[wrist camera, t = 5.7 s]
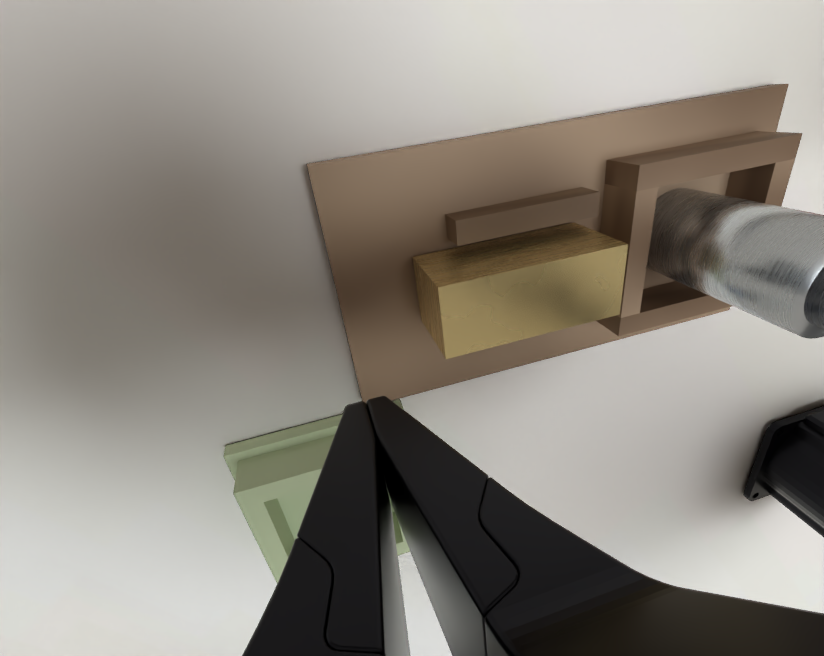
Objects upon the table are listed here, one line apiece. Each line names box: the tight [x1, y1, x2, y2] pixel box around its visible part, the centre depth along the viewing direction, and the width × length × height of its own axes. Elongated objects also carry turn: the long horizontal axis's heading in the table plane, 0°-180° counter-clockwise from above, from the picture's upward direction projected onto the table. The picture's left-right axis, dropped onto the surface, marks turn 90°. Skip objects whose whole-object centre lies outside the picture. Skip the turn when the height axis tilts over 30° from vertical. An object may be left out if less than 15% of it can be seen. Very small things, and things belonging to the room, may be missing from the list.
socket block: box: [307, 84, 802, 403], centre depth 15 cm, size 9×17×2 cm, turn 98°
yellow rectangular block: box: [413, 222, 628, 359], centre depth 14 cm, size 2×6×3 cm, turn 98°
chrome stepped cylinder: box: [646, 188, 824, 338], centre depth 13 cm, size 3×3×8 cm
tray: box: [224, 399, 410, 584], centre depth 18 cm, size 7×7×2 cm
